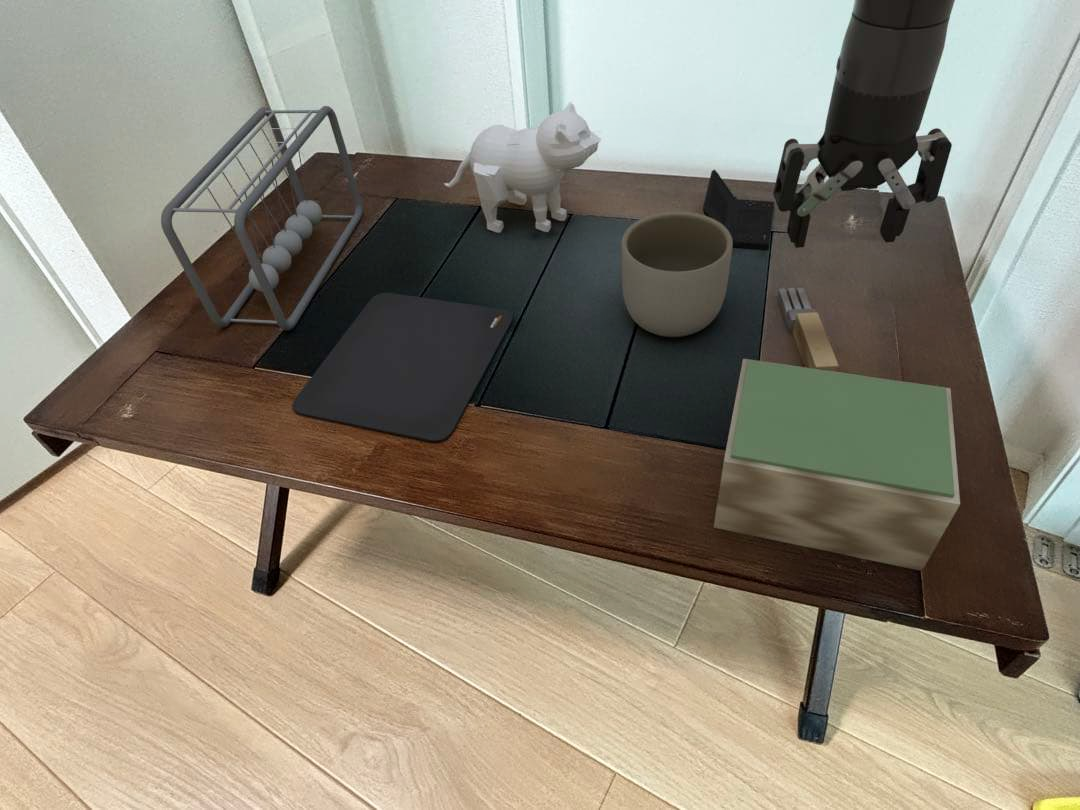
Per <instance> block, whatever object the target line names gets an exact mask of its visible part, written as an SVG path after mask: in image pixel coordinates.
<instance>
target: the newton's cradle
mask: <svg viewBox="0 0 1080 810" xmlns="http://www.w3.org/2000/svg"><path fill="white" fill-rule="evenodd" d="M276 114H306V115H305V116H304V118H303V119H302V120H301V121H300V122H299V123H298V125H297V126H296V127H294V128H293V127H289V128H287V127H285V128H284V127H283V128H282V127H280V124H279V121H278V118H277V116H276ZM312 114H315V115H314V116H313V117H312V118H311V120H310V121H309V122H308V123H307V124H306V125H305V127H304V128H303V129H302V130H301V131H300V133H299V134H297V132H298V131H299V130H300V129H301V127H302V126H303V125H304V124H305V123H306V121H308V119H309V118H310V117H311V115H312ZM265 117H266V118H265ZM326 117H327V118H328V120H329V125H330V128H331V131H332V133H333V137H334V140H335V143H336V147H337V150H338V154H339V157H340V160H341V163H342V167H343V170H344V173H345V176H346V180H347V182H348V186H349V189H350V192H351V195H352V199H353V202H354V213H353V215H343V214H342V215H338V214H337V215H336V214H335V215H334V214H333V215H332V214H323V209H322V208H321V206H320V205H319V203H317V202H316V201H314V200H309V199H308V195H307V187H306V183H305V176H304V170H303V165H302V159H301V151H300V150H301V148H302V147H303V146H304V144H306V142H307V141H308V140H309V138H310V137H311V136H312V134H313V133H314V132H315V131H316V130H317V128H318V127H319V126H320V125H321V124H322V122H323V121H324V120H325V119H326ZM264 118H265V119H264ZM263 119H264V120H263ZM262 120H263V121H262ZM261 121H262V122H261ZM260 122H261V123H260ZM259 123H260V124H259ZM267 123H269V125H270V128H264V127H265V125H266V124H267ZM258 124H259V126H257V125H258ZM256 126H257V128H256ZM254 128H256V129H255V130H254ZM253 130H254V131H253ZM264 130H272V133H273V136H274V139H275V141H270V140H269V138H268V136H267V134H266V132H265V131H264ZM282 130H292V132H290V134H289V135H288V136H287V137H286V138H284V135H283V132H282ZM252 131H253V132H252ZM260 131H262V133H263V135H264V137H265V138H266V140H267V141H252V140H253V138H254V137H256V136H257V134H258V133H259V132H260ZM251 132H252V133H251ZM250 133H251V134H250ZM249 134H250V135H249ZM248 135H249V136H248ZM247 136H248V137H247ZM294 136H295V139H294V140H293V141H292V142H291V144H289V146H287V144H288V143H289V142H290V141H291V140H292V138H293V137H294ZM246 137H247V139H246V140H245V141H244V139H245V138H246ZM242 141H244V142H243V143H242V144H241V142H242ZM259 143H260V144H269V145H270V147H271V149H272V151H273V154H272V155H271V156H270V155H269V156H268V155H267V156H265V155H261V156H260V155H258V153H257V152H256V150H255V148H254V146H253V145H252V144H259ZM239 144H241V145H240V146H239ZM248 144H249V145H250V148H251V149H252V151H253V153H254V155H252V156H250V155H249V156H248V155H247V156H245V155H242V156H241V155H240V156H239V154H240V152H241V151H242V150H243V149H245V147H246V146H247V145H248ZM272 144H277V147H278V148H277V149H274V147H273V145H272ZM238 146H239V147H238ZM237 147H238V148H237ZM236 148H237V149H236ZM235 149H236V150H235ZM234 150H235V152H233V151H234ZM231 153H232V154H231ZM279 153H280V154H281V156H280V157H279V156H278V155H279ZM230 154H231V156H230V157H229V155H230ZM296 154H298V158H299V163H300V164H299V165H300V171H301V177H302V183H303V188H304V190H303V188H302V185H301V182H300V180H299V177H298V174H297V171H296V168H295V165H294V163H293V158H294V157H295V156H296ZM227 157H229V158H228V159H227V160H226V158H227ZM235 158H236V160H237V162H238V163H239V165H240V167H241V169H242V170H243V173H245V175H246V176H247V179H248V180H249V182H248V183H247V185H246V186H244V187H233V185H232V184H231V182H230V180H229V178H227V176H226V174H225V172H224V170H225V169H226V168H227V167H228V166H229V165H230V164H231V162H232V161H233V160H234V159H235ZM239 158H257V159H258V161H259V163H260V165H261V166H262V167H261V168H260V169H259V170H258V171H250V174H251V173H252V174H253V173H254V174H255V173H256V174H255V175H254V176H253V177H252V179H251V178H250V176H249V174H248V172H247V171H246V169H245V168H244V166H243V164H242V162H241V161H240V159H239ZM261 158H269V159H268V160H267V161H266V162H265V163H264V164H263V162H262V160H261ZM275 158H277V160H276V162H275V163H274V159H275ZM225 160H226V161H225ZM224 161H225V162H224ZM223 162H224V163H223ZM222 163H223V164H222ZM221 164H222V165H221ZM270 164H271V166H272V167H271V168H270V169H269V170H268V171H267V168H268V167H269V165H270ZM220 165H221V166H220ZM219 166H220V167H219ZM218 167H219V169H217V168H218ZM216 169H217V171H216ZM214 171H216V172H215V173H214V174H213V172H214ZM283 171H284V172H285V174H286V176H287V178H288V180H289V184H290V188H291V194H292V200H293V206H294V211H295V214H292V212H291V210H290V209H289V207H288V205H287V203H286V202H285V200H284V198H283V196H282V195H281V193H280V191H279V187H278V181H277V179H278V177H279V176H280V174H281V173H282V172H283ZM263 172H265V173H266V174H265V175H264V176H263V177H262V178H261V175H262V174H263ZM212 174H213V175H212ZM221 174H222V175H223V177H224V178H225V180H226V181H227V183H228V185H229V186H230V187H217V189H222V190H223V189H224V190H225V189H226V190H227V189H228V190H229V189H230V190H231V189H232V191H233V193H234V195H235V196H236V197H235V198H234V200H233V201H232V202H231V203H230V204H229V206H228V207H227V208H222V207H221V206H220V204H219V203H218V200H217V199H216V198H215V196H214V194H213V193H212V191H211V190H210V188H209V187H210V185H212V183H213V182H214V181H215V180H216V179H217V178H218V177H219V176H220V175H221ZM211 175H212V176H211ZM210 176H211V177H210ZM208 177H210V178H209V180H207V179H208ZM206 180H207V182H205V181H206ZM257 180H259V182H258V183H257V185H255V184H254V183H255V182H256V181H257ZM204 182H205V184H204V185H203V183H204ZM274 182H275V183H274ZM201 185H203V186H202V187H201V188H200V186H201ZM272 185H273V187H274V189H275V190H276V192H277V197H278V201H279V207H280V211H281V212H280V213H281V216H282V222H283V227H284V229H281V228H280V226H279V224H278V223H277V221H276V219H275V218H274V216H273V214H272V212H271V211H270V209H269V208H268V206H267V204H266V199H265V193H266V192H267V190H268V189H269V188H270V187H271V186H272ZM252 186H253V189H252V191H251V192H250V193H249V194H247V192H248V190H249V189H250V188H251V187H252ZM199 188H200V189H199ZM198 189H199V190H198ZM196 190H198V192H197V193H196V194H194V193H195V192H196ZM206 190H207V191H208V193H209V194H210V195H211V197H212V199H213V201H214V202H215V204H216V205H217V207H218V208H196V207H195V208H191V206H192V205H193V204H194V203H195V202H196V201H197V199H198V198H199V197H200V196H202V194H203V193H204V192H205V191H206ZM236 190H241V191H240V193H239V194H237V191H236ZM294 192H295V194H294ZM193 194H194V196H193V197H192V198H191V199H190V200H189V201H188V199H189V198H190V197H191V196H192V195H193ZM294 195H296V198H297V200H298V205H297V206H296V201H295V196H294ZM243 196H245V199H244V200H243V201H242V200H241V199H242V198H243ZM259 200H261V202H262V203H263V205H264V208H265V213H266V218H267V223H268V227H269V231H270V232H269V233H270V236H271V241H272V245H270V244H269V243H268V241H267V240H266V238H265V236H264V235H263V233H262V232H261V230H260V229H259V226H258V225H257V224H256V222H255V220H254V219H253V217H252V213H251V210H252V209H253V208H254V206H255V205H256V204H257V203H258V202H259ZM187 201H188V202H187ZM186 202H187V203H186ZM238 202H240V205H239V206H238V207H237V208H234V207H235V206H236V205H237V203H238ZM282 202H283V204H284V205H285V207H286V209H287V211H288V213H289V214H290V216H289V217H288V218H287V220H286V221H285V216H284V212H283V206H282ZM184 203H186V204H185V206H184V207H182V205H183V204H184ZM363 207H364V206H363V201H362V197H361V194H360V190H359V187H358V184H357V180H356V177H355V174H354V170H353V167H352V163H351V160H350V156H349V153H348V150H347V147H346V144H345V140H344V137H343V133H342V130H341V127H340V124H339V120H338V116H337V114H336V112H335V111H334V109H333V108H332V107H331V106H329V105H324V106H322V107H320V109H286V110H285V109H280V110H279V109H277V110H276V109H271V108H270V107H269V106H261V107H259V108H258V110H256V111H255V113H253V114H252V116H250V118H249V119H248V120H247V121H246V122H245V123H243V125H242V126H241V127H240V128H239V129H238V130H237V131H236V132H235V133H234V134H233V136H232V137H230V139H228V141H226V142H225V144H224V145H223V146H222V147H221V148H220V149H219V150H218V151H217V152H216V153H215V154H214V155H213V157H211V158H210V159H209V160H208V162H206V163H205V165H203V167H202V168H201V169H199V171H198V172H197V173H196V174H195V175H194V176H193V177H192V178H191V179H190V180H189V181H188V182H187V184H185V185H184V187H182V189H181V190H179V192H178V193H177V194H176V195H175V196H174V197H173V198H172V199H171V200H170V201H169V202H168V203H167V204H166V205H165V207H164V208H163V209H162V211H161V215H160V225H161V229H162V232H163V234H164V235H165V236H164V237H165V238H166V239H167V241H168V243H169V245H170V246H171V249H172V251H173V252H174V254H175V257H176V258H177V261H179V263H180V266H181V267H182V269H183V271H184V273H185V275H186V276H187V278H188V280H189V281H190V283H191V285H192V288H193V289H194V291H195V292H196V295H197V297H198V299H199V300H200V302H201V304H202V306H203V308H204V309H205V311H206V314H208V317H209V318H210V321H211V322H212V323H213V325H215V326H216V327H218V328H225V327H228V326H229V325H230V324H231V323H232V322H233V323H253V324H274V325H278V328H280V329H281V330H283V331H288V332H289V331H291V330H293V329H294V328H295V327H296V326H297V324H298V322H299V321H300V319H301V317H302V315H303V314H304V312H305V311H306V309H307V307H308V306H309V304H310V303H311V301H312V299H313V298H314V296H315V294H316V293H317V291H318V289H319V287H320V286H321V285H322V282H323V281H324V280H325V278H326V276H327V274H328V273H329V272H330V270H331V268H332V266H333V265H334V263H335V261H336V259H337V258H338V256H339V255H340V253H341V252H342V250H343V248H344V247H345V245H346V244H347V243H348V240H349V239H350V237H351V235H352V233H353V232H354V230H355V229H356V227H357V225H358V223H360V220H361V218H362V215H363ZM177 212H178V213H221V214H222V215H223V216H224V218H225V220H226V221H227V223H228V224H229V226H230V227H231V229H232V230H233V232H234V234H235V235H236V237H237V239H238V240H239V243H240V246H241V247H242V250H243V252H244V254H245V256H246V258H247V260H248V262H249V265H250V267H251V269H250V270H249V273H248V283H246V285H245V287H244V288H243V289H242V291H241V292H240V294H239V295H238V296H237V298H236V299H235V300H234V302H233V303H232V305H231V306H230V307H229V309H228V310H227V312H226V313H225V314H224V316H223V317H221V316H220V315H219V313H218V310H217V309H216V307H215V304H214V303H213V301H212V299H211V297H210V296H209V293H208V292H207V290H206V288H205V286H204V284H203V282H202V281H201V278H200V277H199V275H198V273H197V270H196V269H195V267H194V265H193V264H192V261H191V259H190V258H189V255H188V253H187V251H186V250H185V248H184V246H183V245H182V242H181V241H180V238H179V237H178V234H177V233H176V231H175V229H174V226H173V216H174V214H175V213H177ZM226 213H227V214H229V213H232V214H233V213H234V217H233V218H234V219H233V224H232V223H231V221H230V220H229V219H228V217H227V215H226ZM268 213H269V214H268ZM247 215H248V216H249V219H250V224H251V229H252V233H253V238H254V242H255V247H256V250H255V247H254V245H253V243H252V241H251V239H250V236H249V234H248V232H247V229H246V217H247ZM269 215H270V216H271V218H272V220H273V221H274V223H275V224H276V227H277V228H278V229H279V232H277V233H276V234H275V236H274V235H273V232H272V227H271V222H270V216H269ZM322 219H350V220H349V222H348V223H347V225H346V226H345V228H344V229H343V231H342V233H341V235H340V236H339V238H338V240H337V241H336V242H335V244H334V246H333V247H332V249H331V251H330V252H329V254H328V255H327V257H326V259H325V260H324V262H323V263H322V265H321V267H320V268H319V269H318V271H317V273H316V274H315V276H314V278H313V279H312V281H311V283H310V284H309V286H308V287H307V289H306V291H305V292H304V294H303V295H302V297H301V299H300V300H299V302H298V304H297V305H296V306H295V308H294V310H293V311H292V313H291V315H290V316H289V318H288V319H286V317H285V315H284V313H283V311H282V308H281V306H280V304H279V302H278V300H277V297H276V295H275V292H274V289H276V287H277V286H278V284H279V281H280V277H279V274H281V273H284V272H286V271H288V270H289V268H290V267H291V265H292V257H295V256H297V255H299V253H301V250H302V249H303V242H304V241H307V240H309V238H310V237H311V236H312V235H313V227H315V226H317V225H318V224H319V223H320V222H321V221H322ZM233 225H234V227H233ZM254 226H255V228H256V229H257V231H258V232H259V234H260V236H261V237H262V239H263V240H264V243H266V245H267V246H268V247H267V248H266V249H265V250H264V251H263V253H262V258H261V255H260V251H259V247H258V242H257V237H256V233H255V228H254ZM273 236H274V237H273ZM256 251H257V252H256ZM261 259H262V260H261ZM255 290H256V291H258V292H261V293H263V295H264V297H265V300H266V302H267V304H268V306H269V308H270V310H271V313H272V315H273V317H274V319H275V320H270V319H268V320H267V319H266V320H265V319H249V318H247V319H246V318H245V319H244V318H236V316H237V315H238V313H239V312H240V311H241V309H242V308H243V306H244V305H245V304H246V302H247V301H248V299H249V298H250V296H251V295H252V294H253V292H254V291H255Z"/></svg>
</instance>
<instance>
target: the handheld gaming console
mask: <svg viewBox="0 0 1080 810" xmlns="http://www.w3.org/2000/svg"><path fill="white" fill-rule="evenodd" d="M708 180H709V181H708V185H707V188H706V194H705V198H704V201H703V206H702V212H703V215H705V216H707V217H710V218H712V219H714V220H716V221H718V222H720V223H721V224H722V225H723V226H725V227H726V228H727V230H728V231H729V232H730V234H731V236H732V240H733V247H732V248H744V249H755V250H769V247H770V243H771V235H772V226H773V217H774V209H775V201H772V200H756V199H740V198H738V197H737V196H734V194H733V193H732V191H731V190H730V188H729V187H728V186H727V184H726V183H725V181H724V180H723V179H722V177H721V175H720V174H719V172H718V171H717V170H715V169H712V170H711V173H710V177H709V179H708Z"/></svg>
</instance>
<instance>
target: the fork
mask: <svg viewBox="0 0 1080 810" xmlns="http://www.w3.org/2000/svg"><path fill="white" fill-rule="evenodd" d="M776 297H777V300H778V303H779V305H780V308H781V311H782V315H783V317H784V320H785V322H784V323H785V325H786V328H787V331H788V333H789V334H792V336H793V339H794V341H795V344H796V347H797V350H798V353H799V357H800V359H801V361H802V364H803V367H806V368H813V369H819V370H826V371H833V372H838V371H839V362H838V361H837V360H838V359H837V358H836V355H835V353H834V350H833V348H832V346H831V342H830V339H829V338H828V335H827V333H826V330H825V328H824V325H823V323H822V319H821V317H820V315H819V312H818V311H817V308H815V307H811V305H810V301H809V299H808V296H807V294H806V292H805V289H804V287H797V288H795V287H790V288H789V287H787V290H786V288H778V291H777V296H776Z"/></svg>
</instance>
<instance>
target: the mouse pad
mask: <svg viewBox="0 0 1080 810" xmlns="http://www.w3.org/2000/svg"><path fill="white" fill-rule="evenodd" d="M513 320H514V316H513V312H511V311H510V310H507V309H503V308H497V307H489V306H484V305H474V304H469V303H463V302H456V301H449V300H442V299H435V298H428V297H421V296H414V295H407V294H401V293H395V292H380V293H377V294H375V295H374V296H373V297H371V298H370V299H369V301H368V302H367V304H366V305H365V306H364V307H363V309H362V310H361V311H360V313H359V314H358V315H357V317H356V318H355V319H354V320H353V322H352V323H351V324H350V326H349V327H348V329H346V331H345V332H344V333H343V334H342V336H341V338H340V339H339V340H338V341H337V343H336V344H335V346H334V347H332V349H331V351H330V352H329V353H328V355H327V356H326V357H325V358H324V360H323V361H322V363H321V364H320V365H319V367H318V368H317V369H316V371H315V372H314V373H313V375H312V376H311V377H310V378H309V380H308V381H307V382H306V383H305V385H304V386H303V388H302V389H301V390H300V392H298V394H297V395H296V397H295V398H294V400H293V402H292V405H291V406H292V407H291V408H292V410H293V411H294V412H295V413H296V414H298V415H300V416H305V417H311V418H315V419H320V420H325V421H328V422H334V423H338V424H343V425H349V426H353V427H357V428H362V429H367V430H372V431H377V432H382V433H387V434H392V435H396V436H402V437H406V438H411V439H416V440H421V441H425V442H432V443H439V442H443V441H445V440H447V439H448V438H450V436H451V435H452V434H453V433H454V431H455V429H456V427H457V426H458V424H459V422H460V420H461V418H462V416H463V414H464V412H465V410H466V409H467V407H468V405H469V404H470V401H471V399H472V398H473V395H474V394H475V392H476V390H477V388H478V386H479V384H480V383H481V381H482V379H483V377H484V375H485V374H486V371H487V370H488V368H489V366H490V364H491V362H492V360H493V358H494V357H495V355H496V353H497V352H498V349H499V348H500V345H501V344H502V342H503V340H504V338H505V337H506V334H507V332H508V331H509V328H510V327H511V325H512V323H513Z"/></svg>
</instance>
